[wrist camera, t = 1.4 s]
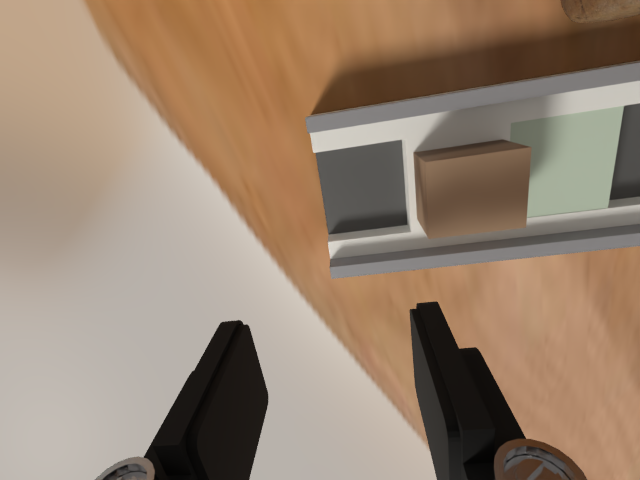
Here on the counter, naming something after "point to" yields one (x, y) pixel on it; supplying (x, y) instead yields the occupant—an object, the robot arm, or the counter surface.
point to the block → (600, 9)
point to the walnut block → (472, 188)
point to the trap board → (475, 127)
